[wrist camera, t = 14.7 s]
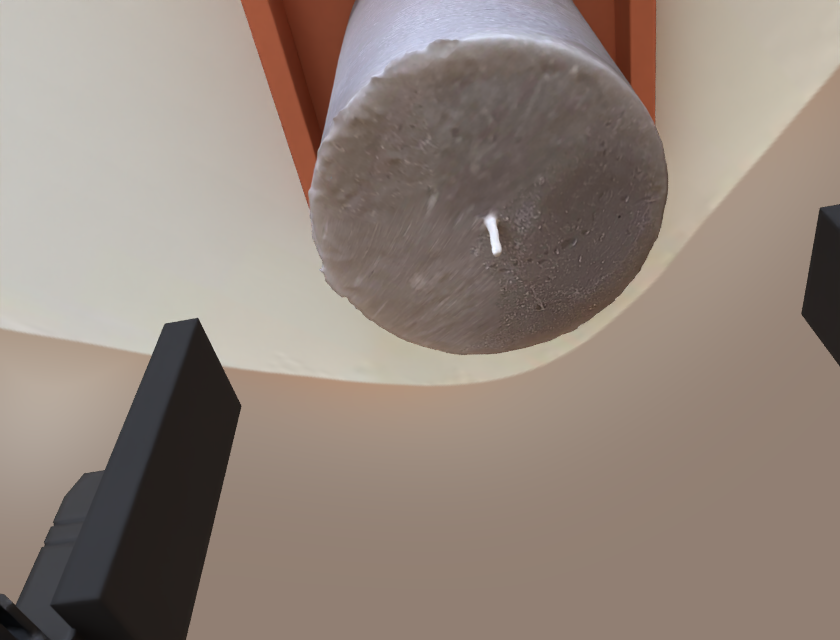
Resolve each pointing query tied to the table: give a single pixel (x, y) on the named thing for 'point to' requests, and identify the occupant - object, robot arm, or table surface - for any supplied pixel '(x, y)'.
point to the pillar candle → (482, 173)
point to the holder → (323, 36)
